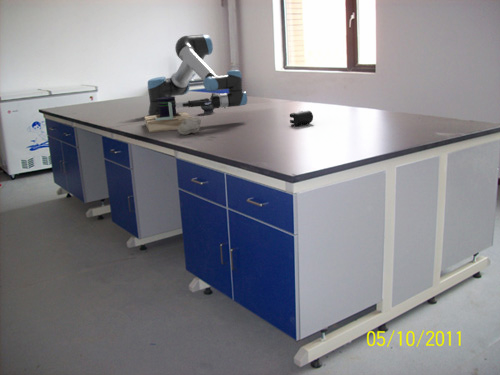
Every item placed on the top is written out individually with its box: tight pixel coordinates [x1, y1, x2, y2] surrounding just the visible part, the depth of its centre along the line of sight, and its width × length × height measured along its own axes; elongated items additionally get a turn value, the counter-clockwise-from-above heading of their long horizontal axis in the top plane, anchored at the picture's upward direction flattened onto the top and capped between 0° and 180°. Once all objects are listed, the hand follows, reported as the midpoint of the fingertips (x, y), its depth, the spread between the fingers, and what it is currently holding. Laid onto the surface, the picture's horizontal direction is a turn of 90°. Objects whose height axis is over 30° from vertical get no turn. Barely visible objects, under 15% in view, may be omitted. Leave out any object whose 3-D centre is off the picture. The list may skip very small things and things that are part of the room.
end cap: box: [289, 110, 314, 127], centre depth 258 cm, size 10×7×7 cm
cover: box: [155, 102, 173, 121], centre depth 274 cm, size 9×9×9 cm
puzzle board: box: [144, 111, 193, 133], centre depth 284 cm, size 30×24×5 cm
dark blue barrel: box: [158, 96, 178, 118], centre depth 290 cm, size 10×10×15 cm
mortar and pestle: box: [200, 92, 216, 115], centre depth 322 cm, size 11×9×12 cm
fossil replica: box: [177, 117, 202, 136], centre depth 256 cm, size 12×8×10 cm
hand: (176, 105), depth 274 cm, fingers closed
